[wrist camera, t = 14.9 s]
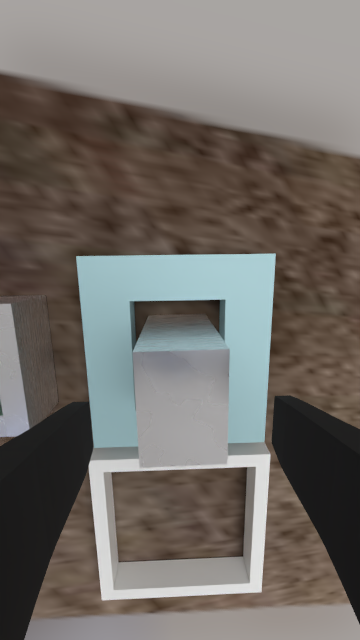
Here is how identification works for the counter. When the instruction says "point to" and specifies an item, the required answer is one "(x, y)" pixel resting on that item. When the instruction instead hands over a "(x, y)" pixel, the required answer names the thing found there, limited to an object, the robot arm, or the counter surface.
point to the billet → (181, 392)
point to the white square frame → (182, 573)
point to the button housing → (25, 364)
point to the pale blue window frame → (167, 285)
